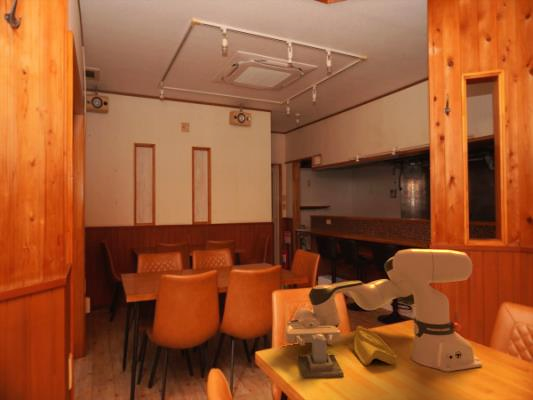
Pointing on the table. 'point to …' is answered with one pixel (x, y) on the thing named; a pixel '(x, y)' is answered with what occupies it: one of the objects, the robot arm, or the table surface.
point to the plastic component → (371, 347)
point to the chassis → (319, 367)
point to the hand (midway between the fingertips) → (316, 342)
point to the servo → (319, 349)
